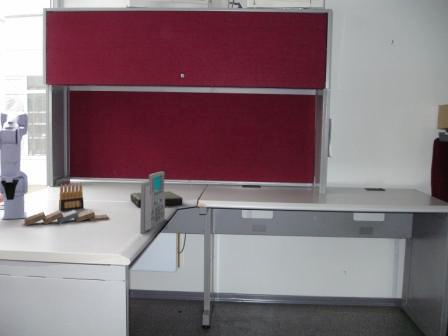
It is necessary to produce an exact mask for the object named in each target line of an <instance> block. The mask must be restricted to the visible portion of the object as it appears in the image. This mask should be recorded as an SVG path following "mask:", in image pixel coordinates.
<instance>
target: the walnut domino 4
mask: <svg viewBox="0 0 448 336" xmlns="http://www.w3.org/2000/svg"><path fill="white" fill-rule="evenodd" d="M109 219H110V217H109V215H107V214H95V217H92V218H89V219H88V220H89V221H90V222H96V221H106V220H109Z"/></svg>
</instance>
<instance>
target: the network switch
mask: <svg viewBox="0 0 448 336" xmlns="http://www.w3.org/2000/svg"><path fill="white" fill-rule="evenodd" d="M164 193H165V206H167V207H181V206H183V197H182V196H181V195H178V194H177V193H174V192H172V191H170V190H169V191H168V190H167V191H164ZM130 202H132V203H133V204H134V205H135V206H136V207H137V208H139V209H141V192H131V194H130Z"/></svg>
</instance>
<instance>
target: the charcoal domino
mask: <svg viewBox="0 0 448 336" xmlns="http://www.w3.org/2000/svg"><path fill="white" fill-rule="evenodd" d="M62 214H63V217H61V218H59V219H56V221H57V222H58V223H59V224H63V223H65V222H67V221H71V220H72V219H74V218H76V217H78V214H79V213H78V211H76V210H69V211H66V212H65V213H62Z"/></svg>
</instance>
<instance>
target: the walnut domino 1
mask: <svg viewBox="0 0 448 336" xmlns="http://www.w3.org/2000/svg"><path fill="white" fill-rule="evenodd" d="M45 216H46V214H45V212H44V211H42V212H39V213H36V214H33V215H31V216H27V217H25V218H23V219H24V224H25V226H26V227H27V226H28V227H29V225H30V226H31V225H33V224H36V223H39V222H41V221H43V220H44V219H46V217H45Z"/></svg>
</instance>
